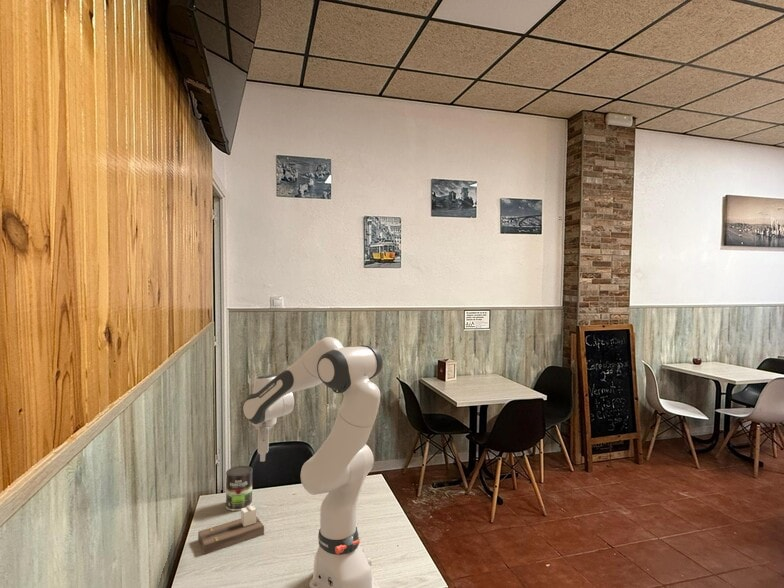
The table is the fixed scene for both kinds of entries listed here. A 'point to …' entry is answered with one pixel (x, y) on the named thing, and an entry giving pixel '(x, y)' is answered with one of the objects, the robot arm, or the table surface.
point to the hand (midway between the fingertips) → (262, 455)
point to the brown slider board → (228, 535)
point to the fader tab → (248, 515)
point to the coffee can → (239, 488)
